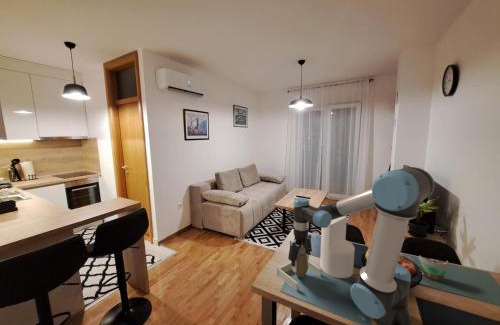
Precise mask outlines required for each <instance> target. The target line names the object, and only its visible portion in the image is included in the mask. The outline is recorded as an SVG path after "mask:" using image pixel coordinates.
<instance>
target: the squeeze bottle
mask: <svg viewBox="0 0 500 325" xmlns="http://www.w3.org/2000/svg"><path fill="white" fill-rule="evenodd" d="M296 261H297V272H296V273H295V272H294V271H293V272H294V275H295V276H297V277H300V278H303V277H305V276H306V275H307V272H308V270H309V268H308V263H307V253H306V252H305V248H304V247H303V245H302V246H301V248H300V249H299V251H298V255H297V258H296Z"/></svg>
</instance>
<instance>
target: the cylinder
mask: <svg viewBox="0 0 500 325" xmlns="http://www.w3.org/2000/svg"><path fill="white" fill-rule="evenodd" d="M347 218H348V217H347V216H343V217H340V218H337V219H334V220H331V223H330V225H328V227H327V228H322V227H321V232H320V234H321V236H320V259H319V261H320V262H319V263H320V264H319V268H321V269H322V272H324V273H325V274H327V275H329V276H330V277H334V278H335V279H336V278H338V279H347V278H350V277H352V275H353V273H354V264H355V251H356V250H355V249H356V248H355V245H354V244H353V243H352V242H350V241H348V240H347V238H346V235H347V221H348V220H347Z"/></svg>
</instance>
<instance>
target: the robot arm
mask: <svg viewBox="0 0 500 325" xmlns="http://www.w3.org/2000/svg"><path fill="white" fill-rule="evenodd" d="M434 189H435V180H434V178H433V176H432V175H431V174H430V173H429V172H428V171H426V170H424V169H422V168H421V167H417V166H416V167H413V166H410V167H403V168H400V169H392V170H388V171H386V172H384V173H382V174H380V175H378V176H377V177H376V178H375V179H374V180H373V182H372V185H371V188H368V189H366V190H362V191H360V192H358V193H355V194H352V195H351V196H350V195H349V196H347V197H344V198H342V199H339V200H337V201H335V202H332V203H329V204H326V205H322V206H319V207H316V206H312V205H311V204H310V200H309V199H308V198H305V197H298V198H295V199H294V200H293V236H294V238H293V240H289V250H288V257H287V258H288V260H289V262H291V265H292V269H291V270H292V272H295V273H296V272H297V261H296V258H297V255H298V251H299V249H300V248H301V246H303V247H304V248H305V252H306V253H307V263H308V261H309V260H310V259H309V258H310V256H311V254H312V252H313V249H312V248H313V247H312V240H311V239H312V235H310V234H309V227H310V225H309V223H311V224H312V225H315V226H317V227H319V228H321V229H322V228H327V227H328V225H330V223H331V220H334V219H337V218H340V217H343V216H345V217H347V216H349V215H352V214H355V213H360V212H363V211H366V210H369V209H373V208H375V209H376V210H377V216H376V220H375V224H374V229H373V233H372V237H371V243H370V247H369V250H368V256H367V259H366V263H365V264H366V265H365V266H362V267H361V268H360V270H359V273H358V279H357V281H356V282H355V283H353V284H352V285H351V286H350V290H349V293H350V297H351V300H352V301H353V302H354V304H355V306H356V307H357V309H359V311H360V312H362V313H363V315H365V316H367V317H368V318H370V319H372V320H374V322H375V323H377V324H378V325H412V323H413V322H412V316H411V312H410V309H409V306H408V305H409V297H410V291H411V290H410V288H411V282H412V275H411V272H410V271H409V269H407V268H406V267H405V266H404V265H402V264H400V263H398V261H399V259H400V255H401V251H402V248H403V243H404V240H405V236H406V232H407V229H408V225H409V221H410V220H413V219H416V218H417V215H418V212H419V210H420V209H419V208H420V207H421V206H420V205H421V202H422V201H424V200H426V199H428V198H429V197H430V196H431V195H432V194H433V193H434ZM295 273H294V274H295Z"/></svg>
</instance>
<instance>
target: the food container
mask: <svg viewBox="0 0 500 325" xmlns="http://www.w3.org/2000/svg"><path fill="white" fill-rule="evenodd" d="M417 260H419V271H420V270H421V272H422V274H421V275H422V277H424V278H425V279H427V280H430V281H433V282H439V283H440V282H443V280H444V278H445V274H446V271H447V269H448V268H450V267H449V266H450V265H449V261H448V260H446V261H445V260H444V261H443V260H439V259H435V258H432V257H431V258H429V257H422V256H421V255H419V256H418V258H417Z"/></svg>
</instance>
